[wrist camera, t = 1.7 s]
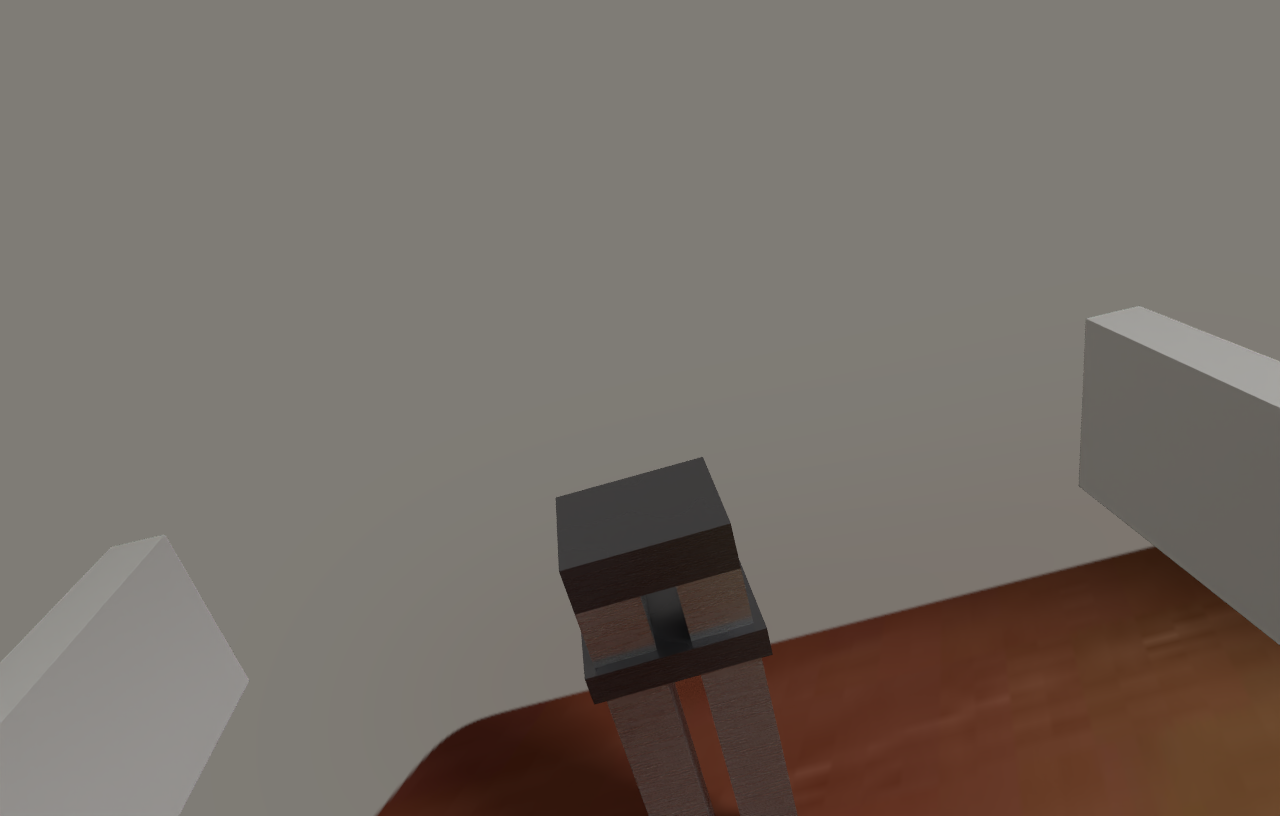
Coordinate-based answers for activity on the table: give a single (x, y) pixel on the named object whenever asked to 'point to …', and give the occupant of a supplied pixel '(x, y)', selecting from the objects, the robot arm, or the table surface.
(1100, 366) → the robot arm
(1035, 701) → the table surface
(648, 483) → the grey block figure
